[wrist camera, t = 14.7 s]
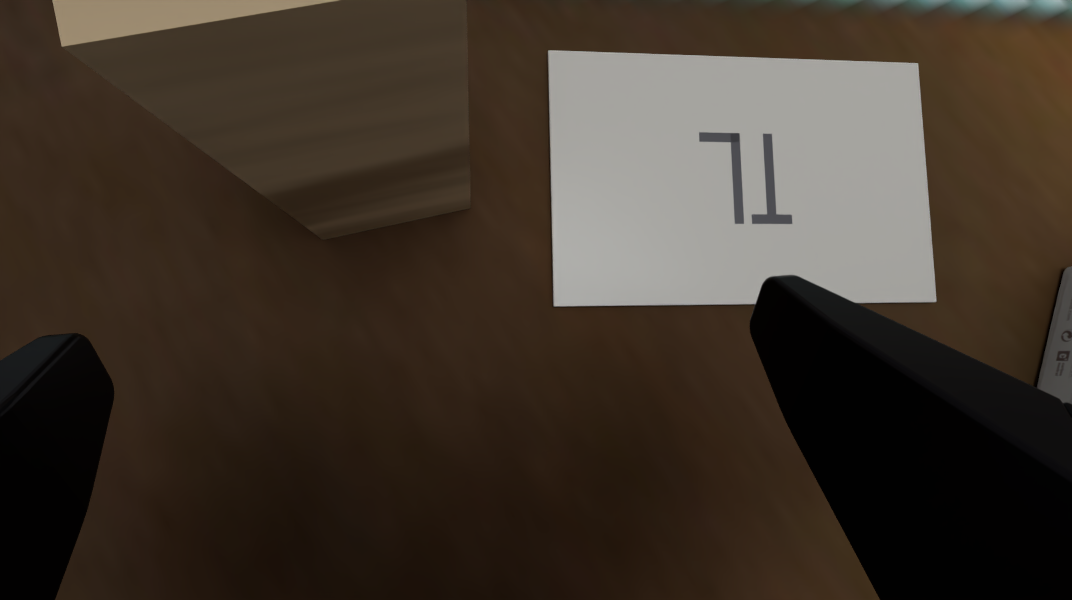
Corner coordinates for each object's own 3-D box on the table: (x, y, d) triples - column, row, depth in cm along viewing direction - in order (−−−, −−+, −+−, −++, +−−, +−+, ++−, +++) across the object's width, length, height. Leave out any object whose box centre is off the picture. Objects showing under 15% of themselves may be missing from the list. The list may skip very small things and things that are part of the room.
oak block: (470, 208, 20) (466, -21, 8) (322, 239, 20) (61, 45, 7) (437, 69, 20) (380, -364, 8) (290, 97, 20) (-14, -328, 7)
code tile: (553, 306, 20) (554, 306, 20) (547, 53, 21) (548, 50, 21) (932, 302, 22) (936, 301, 21) (914, 65, 22) (918, 63, 22)
